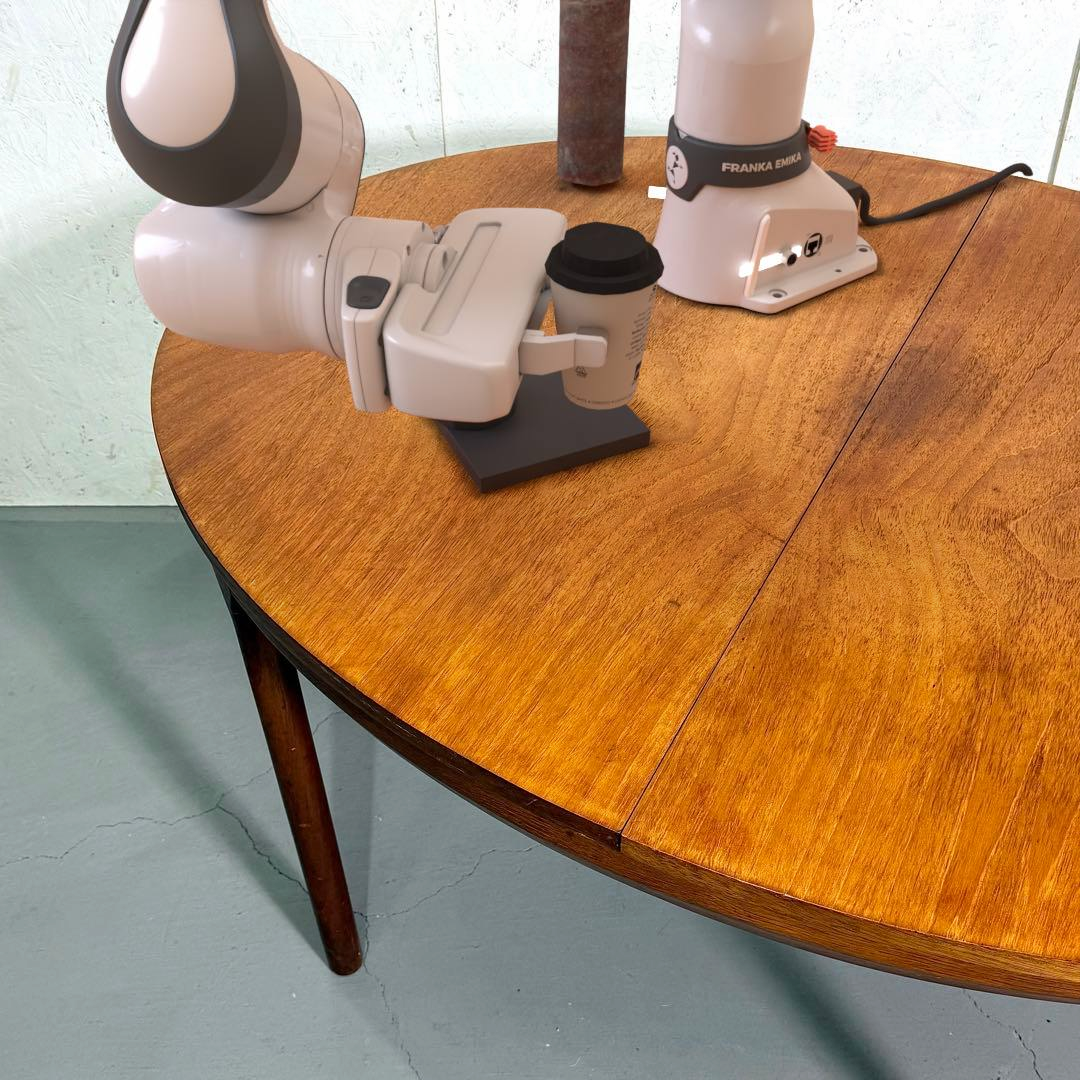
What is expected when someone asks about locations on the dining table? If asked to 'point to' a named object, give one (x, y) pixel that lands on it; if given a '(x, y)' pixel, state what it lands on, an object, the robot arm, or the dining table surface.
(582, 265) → the coffee cup
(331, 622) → the dining table surface
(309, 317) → the robot arm
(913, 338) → the dining table surface
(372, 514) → the dining table surface
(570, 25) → the candle
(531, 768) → the dining table surface
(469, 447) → the dark grey button base
